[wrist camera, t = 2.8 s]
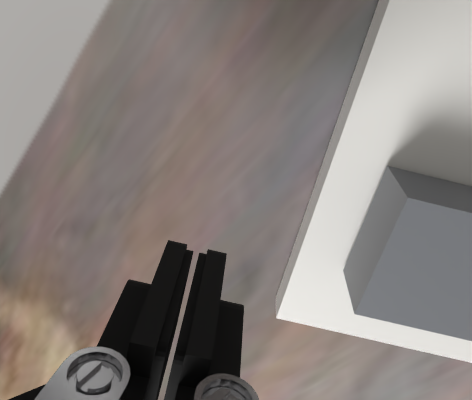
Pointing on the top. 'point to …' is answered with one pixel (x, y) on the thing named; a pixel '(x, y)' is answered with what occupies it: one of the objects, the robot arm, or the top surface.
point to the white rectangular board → (385, 159)
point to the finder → (415, 255)
